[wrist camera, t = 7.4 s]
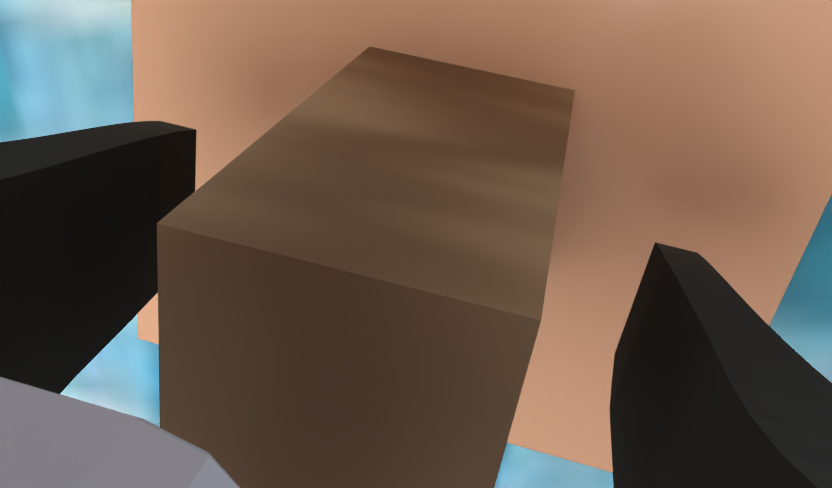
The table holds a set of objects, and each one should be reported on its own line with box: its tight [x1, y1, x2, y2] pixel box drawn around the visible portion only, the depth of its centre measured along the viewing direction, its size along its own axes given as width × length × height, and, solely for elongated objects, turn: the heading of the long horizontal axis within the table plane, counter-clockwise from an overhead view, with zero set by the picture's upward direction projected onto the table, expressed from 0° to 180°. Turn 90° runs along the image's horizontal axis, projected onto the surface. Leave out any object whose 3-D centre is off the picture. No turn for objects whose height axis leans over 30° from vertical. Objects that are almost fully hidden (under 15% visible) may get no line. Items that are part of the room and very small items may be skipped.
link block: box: [157, 46, 575, 488], centre depth 12 cm, size 4×4×8 cm
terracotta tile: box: [131, 0, 832, 472], centre depth 16 cm, size 14×14×1 cm
